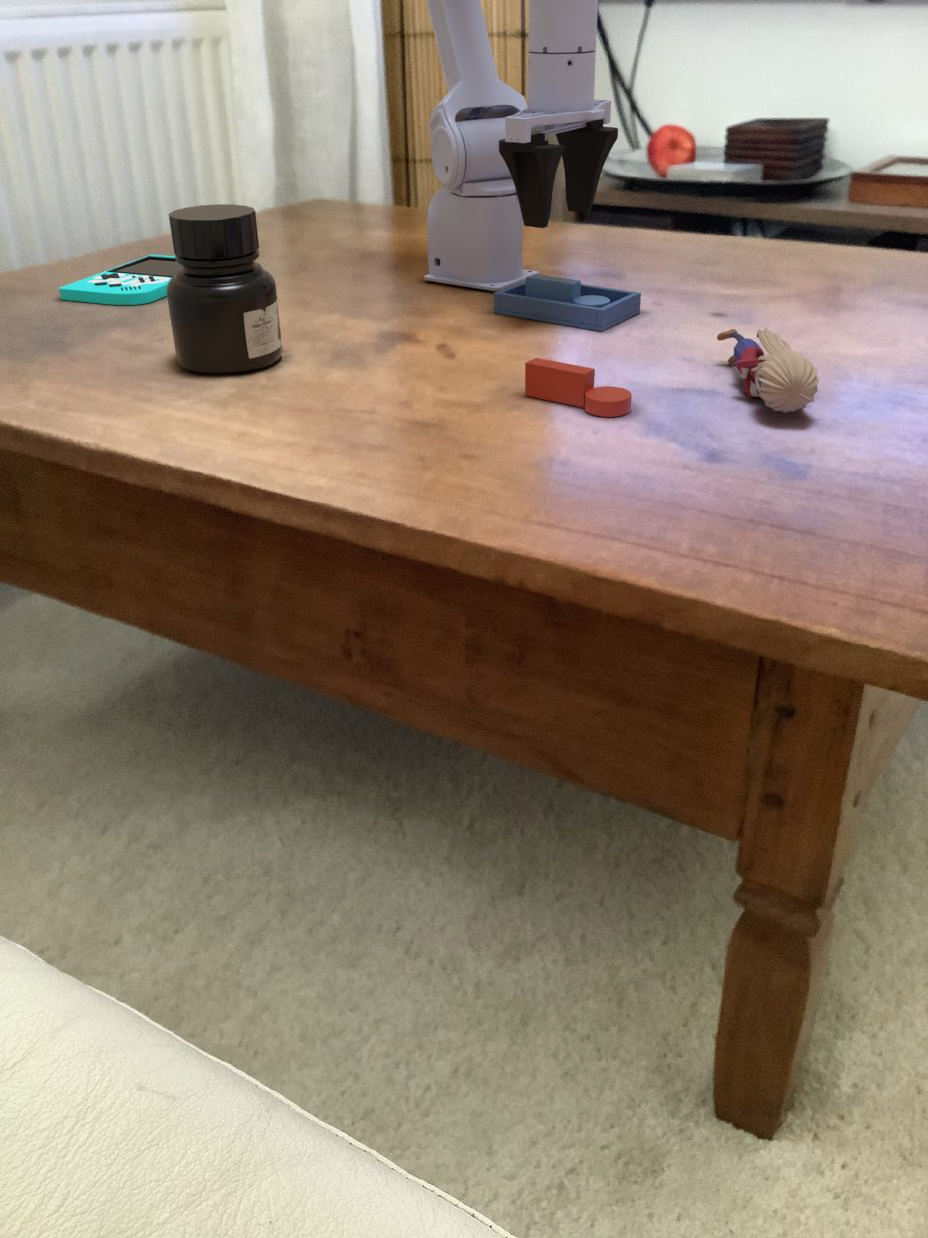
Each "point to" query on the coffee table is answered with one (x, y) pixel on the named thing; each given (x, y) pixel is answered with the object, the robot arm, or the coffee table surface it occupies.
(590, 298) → the blue block with disc
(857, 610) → the coffee table surface
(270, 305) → the ink bottle
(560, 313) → the blue tray
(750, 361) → the figurine
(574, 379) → the red block with disc
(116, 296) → the handheld game console
